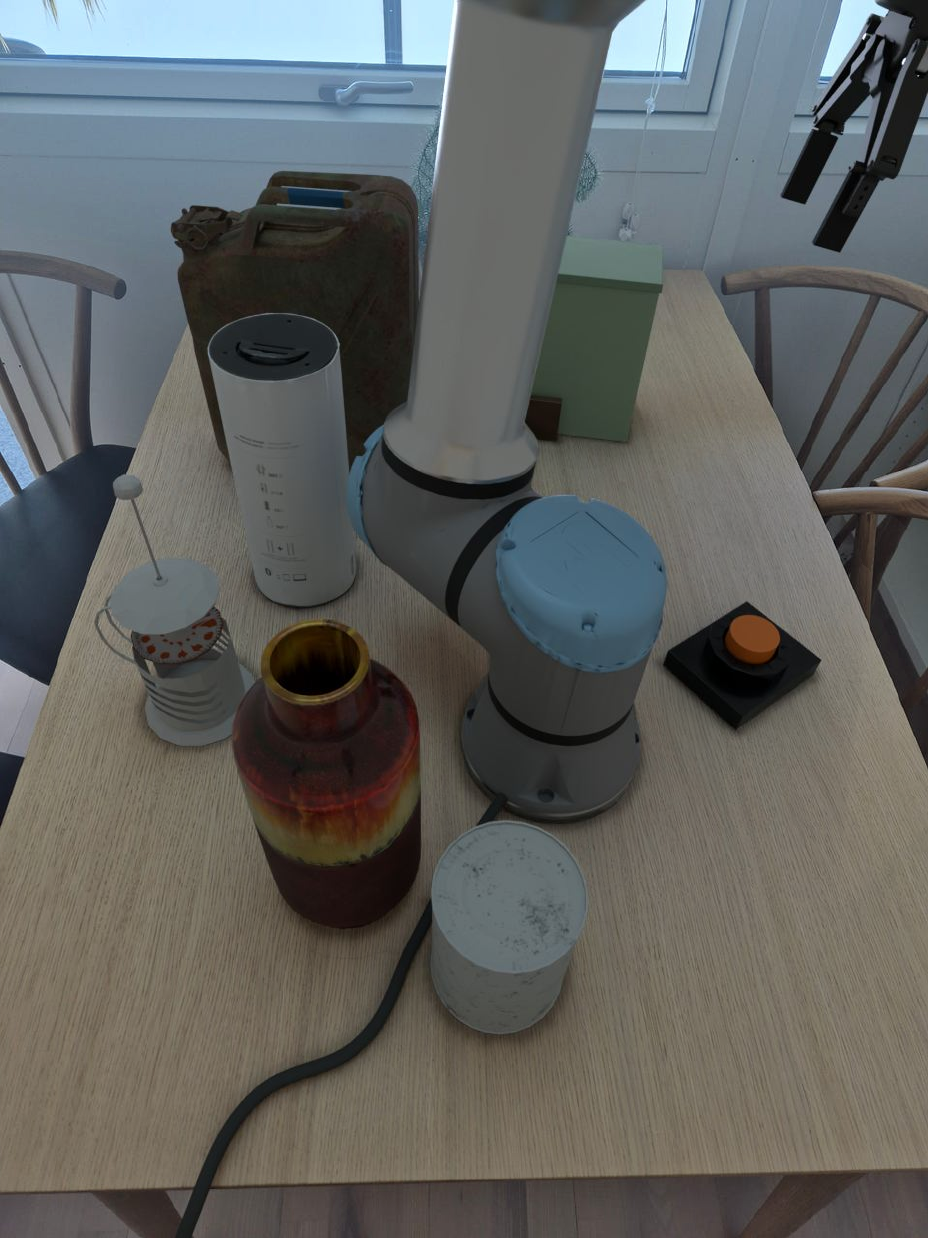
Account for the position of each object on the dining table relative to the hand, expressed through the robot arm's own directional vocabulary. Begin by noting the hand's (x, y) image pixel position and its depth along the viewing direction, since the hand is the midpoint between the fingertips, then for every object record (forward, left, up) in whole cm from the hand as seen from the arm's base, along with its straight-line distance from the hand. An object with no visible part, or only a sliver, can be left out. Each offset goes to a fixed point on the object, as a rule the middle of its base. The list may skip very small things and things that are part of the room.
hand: (808, 222), depth 83 cm
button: (-28, -25, -22) cm, 44 cm away
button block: (-28, -25, -26) cm, 46 cm away
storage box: (-16, +17, -26) cm, 35 cm away
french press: (-71, +1, -26) cm, 76 cm away
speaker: (-55, +9, -26) cm, 62 cm away
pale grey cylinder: (-63, -33, -26) cm, 76 cm away
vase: (-68, -21, -26) cm, 76 cm away
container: (-44, +25, -26) cm, 57 cm away
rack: (-20, +21, -26) cm, 39 cm away
